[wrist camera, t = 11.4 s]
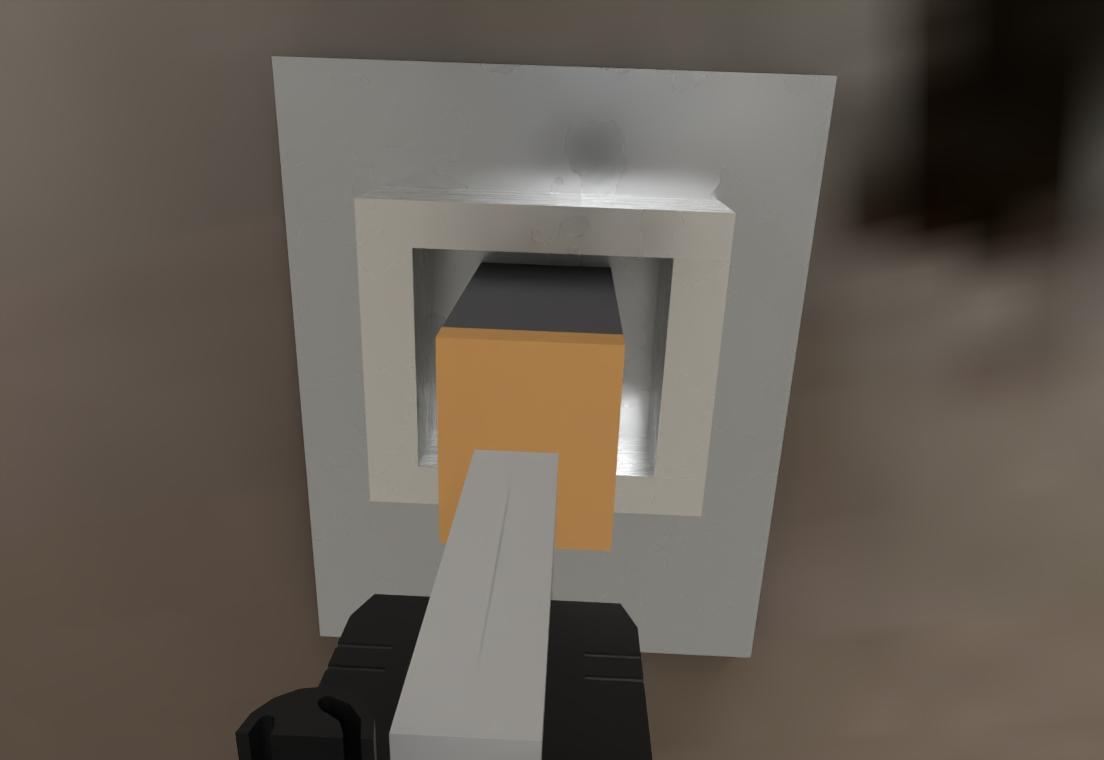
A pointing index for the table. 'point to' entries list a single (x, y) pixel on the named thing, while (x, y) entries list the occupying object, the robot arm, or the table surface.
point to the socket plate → (567, 240)
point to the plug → (535, 387)
